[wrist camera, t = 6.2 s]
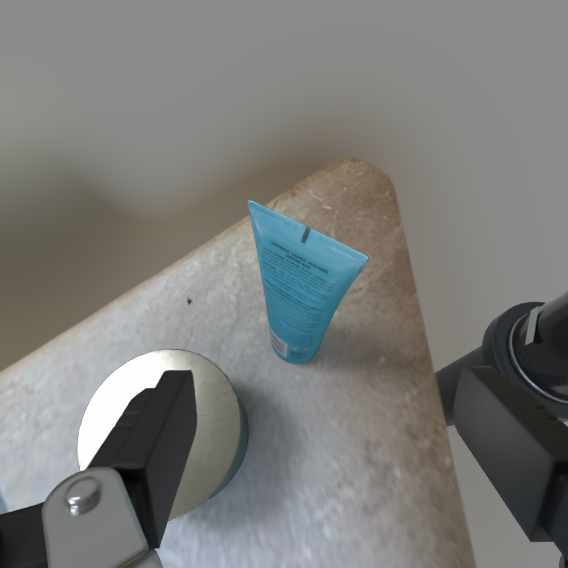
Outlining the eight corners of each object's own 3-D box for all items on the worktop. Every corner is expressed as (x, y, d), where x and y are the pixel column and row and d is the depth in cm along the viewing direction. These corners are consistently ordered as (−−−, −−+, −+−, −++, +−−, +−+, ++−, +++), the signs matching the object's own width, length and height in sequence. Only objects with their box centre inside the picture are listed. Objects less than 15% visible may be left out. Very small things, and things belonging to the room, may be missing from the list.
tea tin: (252, 371, 35) (244, 348, 28) (248, 508, 30) (236, 523, 22) (136, 372, 35) (97, 349, 27) (111, 509, 30) (56, 525, 22)
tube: (337, 334, 36) (384, 221, 19) (318, 377, 34) (352, 294, 17) (272, 305, 38) (263, 176, 21) (251, 345, 36) (220, 238, 19)
